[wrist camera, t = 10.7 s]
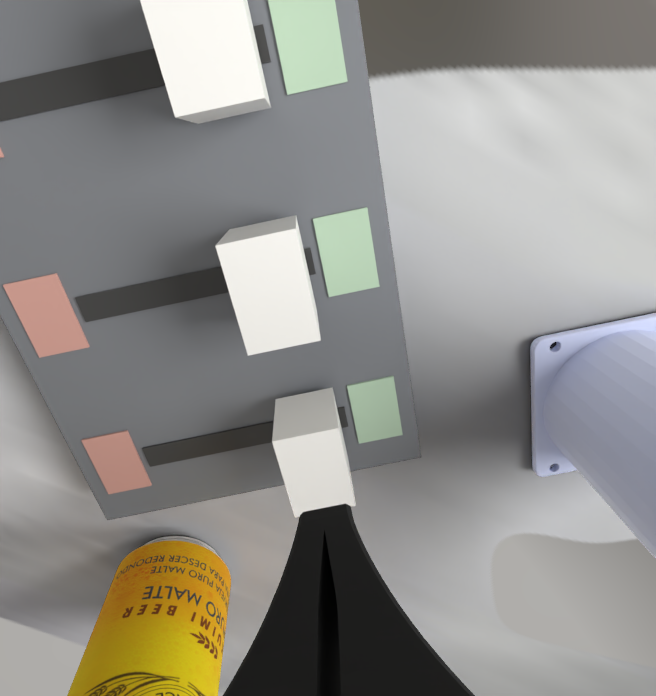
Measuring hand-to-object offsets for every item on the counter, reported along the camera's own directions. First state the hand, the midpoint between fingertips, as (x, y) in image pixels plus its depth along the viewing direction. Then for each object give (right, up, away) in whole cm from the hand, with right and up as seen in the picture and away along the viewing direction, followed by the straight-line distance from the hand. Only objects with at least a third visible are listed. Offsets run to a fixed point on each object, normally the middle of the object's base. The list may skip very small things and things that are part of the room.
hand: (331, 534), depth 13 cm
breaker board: (-5, +8, +6) cm, 12 cm away
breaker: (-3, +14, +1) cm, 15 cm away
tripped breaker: (-2, +8, +4) cm, 9 cm away
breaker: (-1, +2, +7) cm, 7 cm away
